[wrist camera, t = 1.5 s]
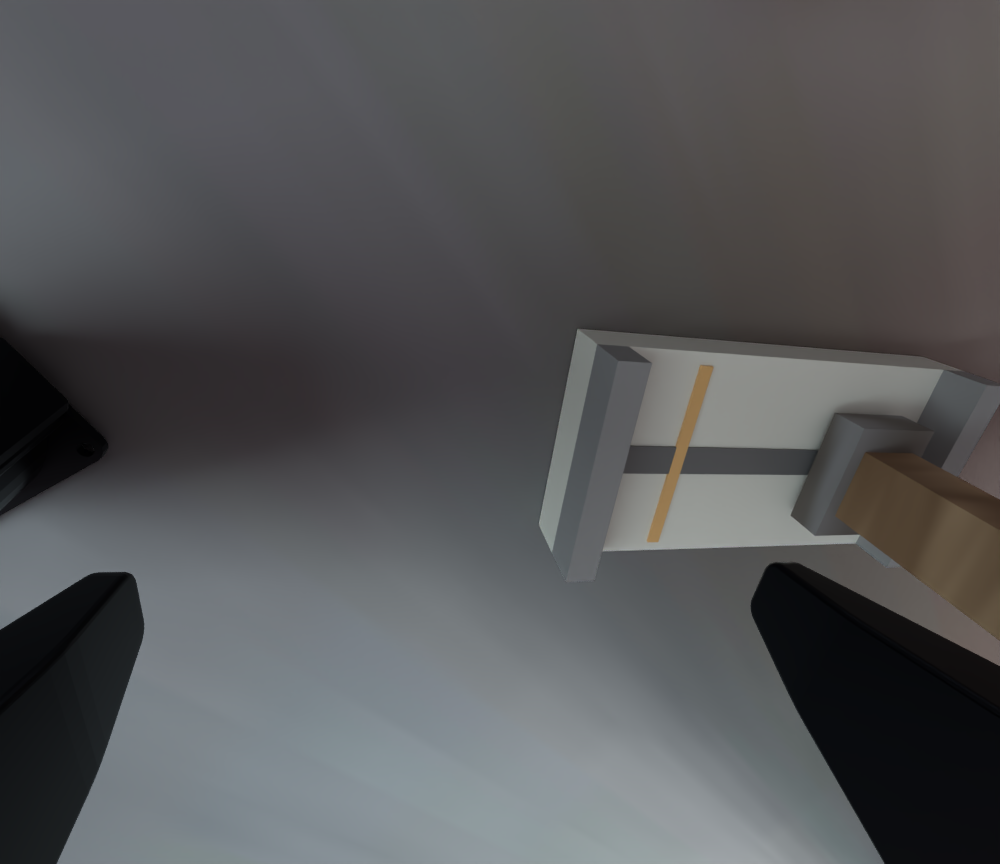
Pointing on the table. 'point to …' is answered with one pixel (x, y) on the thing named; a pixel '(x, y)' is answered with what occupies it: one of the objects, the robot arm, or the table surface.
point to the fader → (907, 509)
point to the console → (724, 439)
